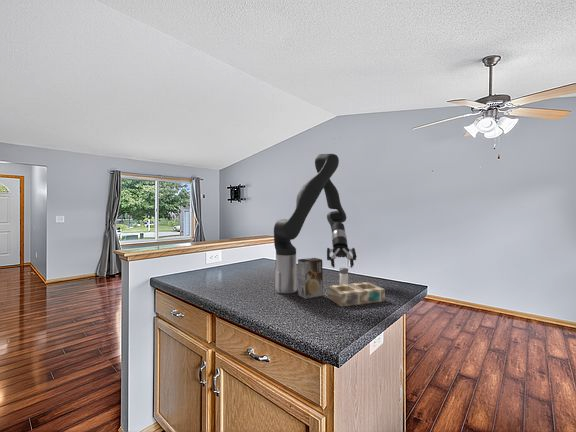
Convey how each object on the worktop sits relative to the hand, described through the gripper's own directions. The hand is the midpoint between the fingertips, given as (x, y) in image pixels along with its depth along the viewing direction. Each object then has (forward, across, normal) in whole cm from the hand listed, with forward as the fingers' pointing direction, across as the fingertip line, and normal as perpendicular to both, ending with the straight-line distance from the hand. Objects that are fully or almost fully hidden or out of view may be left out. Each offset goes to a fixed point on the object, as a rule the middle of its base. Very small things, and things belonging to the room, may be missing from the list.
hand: (342, 266), depth 138 cm
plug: (+10, 0, +5) cm, 11 cm away
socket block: (+20, +3, -5) cm, 20 cm away
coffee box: (+16, -16, -2) cm, 23 cm away
